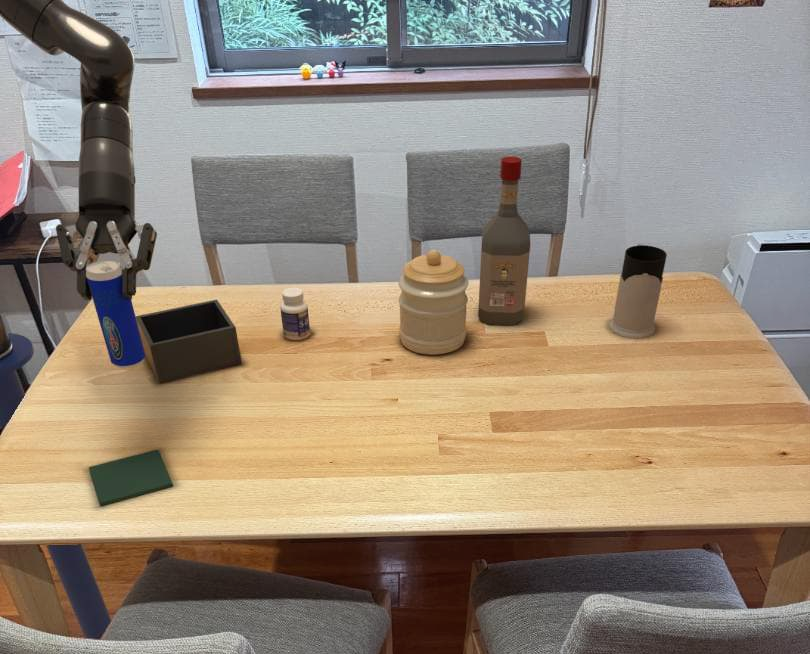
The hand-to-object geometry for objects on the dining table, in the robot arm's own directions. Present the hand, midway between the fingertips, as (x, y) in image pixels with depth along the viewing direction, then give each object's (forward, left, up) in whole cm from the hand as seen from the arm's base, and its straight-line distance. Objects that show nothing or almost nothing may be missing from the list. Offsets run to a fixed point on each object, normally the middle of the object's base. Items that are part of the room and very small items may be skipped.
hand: (106, 297), depth 115 cm
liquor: (+75, +15, -26) cm, 81 cm away
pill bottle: (+35, +26, -26) cm, 50 cm away
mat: (-4, -7, -26) cm, 27 cm away
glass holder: (+97, +1, -26) cm, 100 cm away
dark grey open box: (+14, +26, -26) cm, 39 cm away
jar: (+58, +12, -26) cm, 64 cm away
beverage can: (+1, +2, -11) cm, 11 cm away
